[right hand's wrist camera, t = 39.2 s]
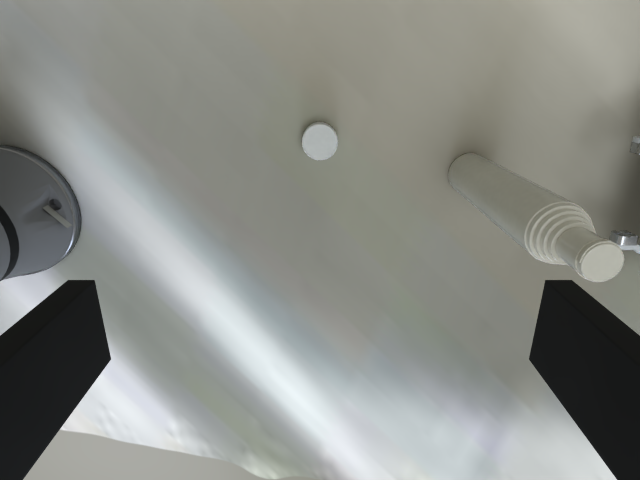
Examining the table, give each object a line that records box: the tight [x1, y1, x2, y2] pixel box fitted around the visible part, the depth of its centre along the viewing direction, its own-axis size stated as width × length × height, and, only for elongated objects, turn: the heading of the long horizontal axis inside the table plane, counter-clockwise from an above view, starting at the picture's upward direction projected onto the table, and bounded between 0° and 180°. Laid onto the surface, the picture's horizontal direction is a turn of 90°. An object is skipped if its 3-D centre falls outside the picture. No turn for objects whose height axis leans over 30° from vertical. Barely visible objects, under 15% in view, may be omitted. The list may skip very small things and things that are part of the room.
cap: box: [302, 122, 338, 160], centre depth 47 cm, size 4×4×2 cm
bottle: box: [448, 153, 624, 282], centre depth 38 cm, size 5×5×25 cm
